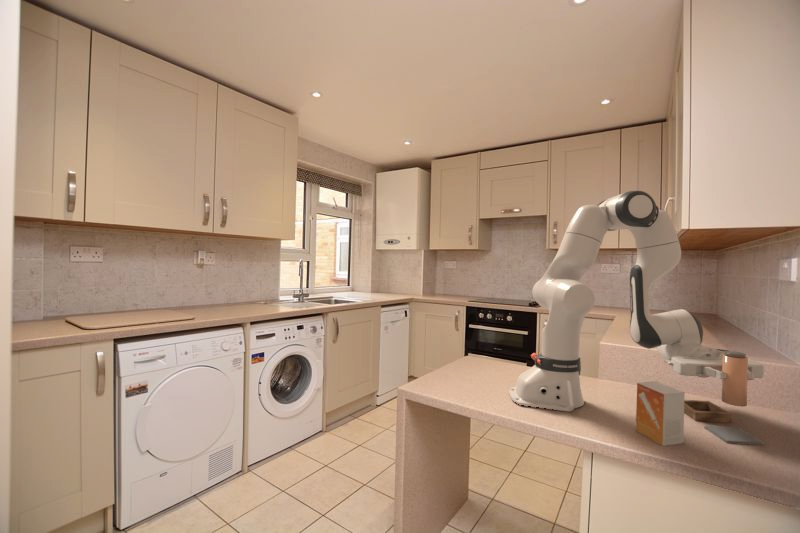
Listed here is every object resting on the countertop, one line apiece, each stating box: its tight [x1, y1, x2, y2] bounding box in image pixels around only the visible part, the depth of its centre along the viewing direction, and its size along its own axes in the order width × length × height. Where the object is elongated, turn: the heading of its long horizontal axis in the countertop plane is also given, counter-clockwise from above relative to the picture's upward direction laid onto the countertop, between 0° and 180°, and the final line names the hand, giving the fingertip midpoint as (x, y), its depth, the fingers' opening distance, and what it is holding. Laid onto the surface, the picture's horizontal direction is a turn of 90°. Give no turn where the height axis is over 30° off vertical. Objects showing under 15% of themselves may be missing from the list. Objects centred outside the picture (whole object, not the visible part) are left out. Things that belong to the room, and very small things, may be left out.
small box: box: [635, 380, 686, 447], centre depth 93 cm, size 8×6×13 cm
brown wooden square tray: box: [684, 399, 733, 423], centre depth 107 cm, size 9×9×2 cm
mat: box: [704, 425, 764, 446], centre depth 94 cm, size 8×8×1 cm
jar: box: [721, 350, 749, 407], centre depth 94 cm, size 5×5×13 cm
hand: (737, 376), depth 93 cm, fingers closed on jar, 5 cm apart
